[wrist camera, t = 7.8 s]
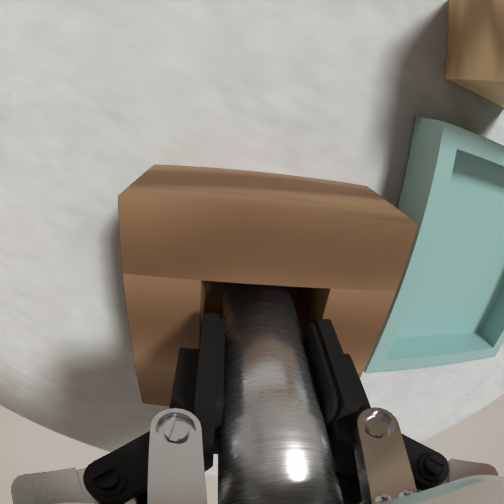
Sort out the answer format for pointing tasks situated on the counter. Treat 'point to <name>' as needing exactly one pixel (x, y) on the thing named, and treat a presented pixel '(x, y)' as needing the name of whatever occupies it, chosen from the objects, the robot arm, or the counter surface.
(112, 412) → the counter surface
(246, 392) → the cylinder
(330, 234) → the bore block
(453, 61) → the oak block
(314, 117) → the counter surface
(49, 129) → the counter surface
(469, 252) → the tray
